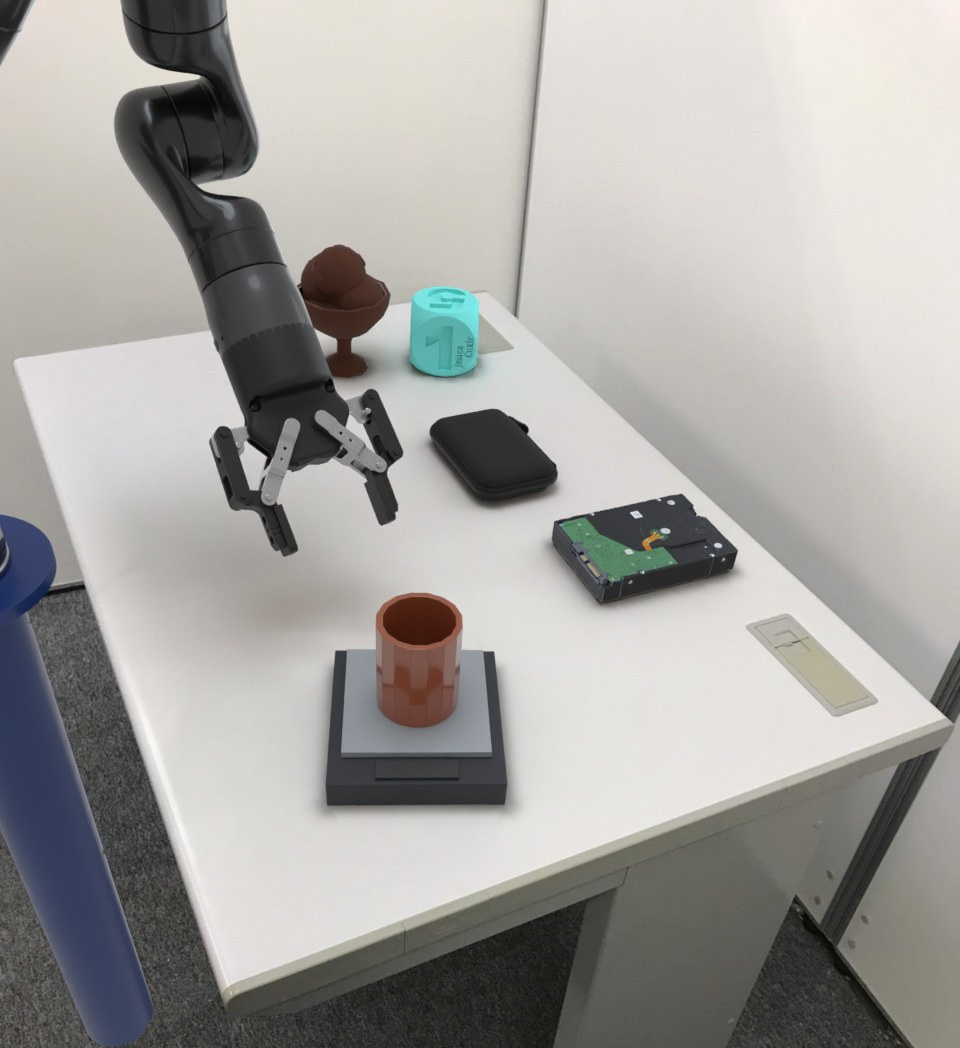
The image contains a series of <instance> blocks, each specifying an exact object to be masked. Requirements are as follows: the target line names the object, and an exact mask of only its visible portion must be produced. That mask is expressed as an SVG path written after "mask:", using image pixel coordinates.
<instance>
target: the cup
mask: <svg viewBox="0 0 960 1048" xmlns="http://www.w3.org/2000/svg"><path fill="white" fill-rule="evenodd" d="M463 631H464V623H463V614H462V612H460V610H459V608H458V607H457V606H456V604H454V603H453V602H451V601H450V600H449V599H446V598H445V597H443V596H440V595H437V594H433V593H429V592H408V593H403V594H400V595H396V596H394V597H392V598H390V599H389V600H387V601H386V602H384V603H383V604H382V605H381V607H380V608H379V609H378V611H377V613H376V614H375V649H376V696H377V703H378V706H379V709H380V710H381V712H382V713H383V714H384V715H385V716H386V717H387V718H388V719H390V720H391V721H393V722H395V723H397V724H400V725H403V726H407V727H416V728H419V727H428V726H432V725H435V724H438V723H440V722H442V721H444V720H445V719H447V718H448V717H449V716H450V715H451V714H452V713H453V711H454V710H455V708H456V705H457V699H458V692H459V677H460V662H461V650H462V648H463V647H462V645H463V633H464V632H463Z"/></svg>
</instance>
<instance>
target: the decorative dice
mask: <svg viewBox="0 0 960 1048" xmlns="http://www.w3.org/2000/svg"><path fill="white" fill-rule="evenodd" d="M410 303H411V304H410V327H409V329H410V330H409V331H410V332H409V362H410V364H411V365H412V366H413V367H415V369H417V370H418V371H420V372H422V373H424V374H427V375H431V376H434V377H446V378H447V377H456V376H460V375H464V374H467V373H468V372H469V371H471V370H472V369H474V367H476V365H477V360H478V359H477V358H478V346H479V326H480V325H479V324H480V300H479V299H478V298H477V297H476V296H475V294H473V293H472V292H470V291H468V290H466V289H463V288H459V287H454V286H444V285H443V286H442V285H439V286H430V287H425V288H422V289H420V290H418V291H417V292H416V293H414V294H413V295H412V296H411V302H410Z"/></svg>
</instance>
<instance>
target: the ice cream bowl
mask: <svg viewBox="0 0 960 1048" xmlns="http://www.w3.org/2000/svg"><path fill="white" fill-rule="evenodd" d="M366 267H367V265H366V261H365V259H364V258H363V257H362V255H361V254H360V253H358V252H356V251H355V250H354V249H353V248H351V247H349V246H346V245H344V244H334V245H332V246H328V247H325V248H324V249H323V250H322V251H321V252H319V253H318V254H316V255H314V256H313V257H312V258H311V259H309V260H308V261H307V262H306V264H305V266H304V267H303V269H302V272H301V275H300V282H299V283H298V284H296V286H297V287H298V289H299V291H300V293H301V295H302V298H303V300H304V303H305V305H306V308H307V311H308V314H309V316H310V319H311V322H312V324H313V327H314V329H315V331H318V332H320V333H322V334H323V335H326V336H328V337H330V338H332V339H335V340H336V352H333V353H331V354H329V355H327V356H326V357H325V359H326V362H327V364H328V367H329V369H330V372H331V375H332V377H334V378H335V377H336V378H355V377H357V376H360V375H363V374H364V373H365V372H366V371H367V370H368V365H367V362H366V360H365V357H363V356H361V355H359V354H356V353H354V352H353V351H352V341H353V339H354V338H358V337H361V336H364V335H365V334H367V333H368V332H369V331H370V330H372V329H373V327H374V326H376V324H377V323H379V321H380V320H382V319H383V318H384V316H385V314H386V313H387V310H388V308H389V305H390V301H391V293H390V291H389V288H388V287H387V285H386V283H385V282H384V281H382V280H379V279H377V278H375V277H373V276H372V275H370V274H368V273H367V270H366Z"/></svg>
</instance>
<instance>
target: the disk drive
mask: <svg viewBox="0 0 960 1048" xmlns="http://www.w3.org/2000/svg"><path fill="white" fill-rule="evenodd" d="M694 505H695V504H693V503H692V502H691V501H690V500H689V499H688V498H687V496H686V495H684V494H683V493H677V494H671V495H670V494H669V495H665V496H661V497H659V498H652V499H648V500H645V501H639V502H634V503H630V504H625V505H621V506H617V507H611V508H607V509H606V508H605V509H602V510H597V511H593V512H588V513H584V514H577V515H573V516H570V517H565V518H561V519H560V518H559V519H556V520H554V521H553V525H552V532H551V542H552V543H553V544H554V546H555V547H556V548H557V551H558V552H559V553H560V554H561V556H562V557H563V558H564V559H565V560H566V562H567V563H568V564H569V566H570V567H571V568H572V569H573V571H574V572H575V573H576V574H577V576H578V577H579V578H580V580H581V581H582V582H583V584H584V585H585V586H586V587H587V588H588V590H589V592H591V593H592V595H593V596H594V597H595V598H596V599H597V600H598V601H599V602H600V603H603V602H611V601H616V600H619V599H623V598H627V597H631V596H636V595H641V594H643V593H644V594H645V593H647V592H652V591H655V590H659V589H663V588H667V587H671V586H675V585H679V584H683V583H686V582H692V581H695V580H700V579H702V578H707V577H710V576H714V575H718V574H722V573H724V572H727V571H732V570H733V569H734V565H735V563H736V559H737V556H738V553H739V550H738V548H737V547H736V546H735V545H734V544H733V543H732V542H731V541H730V540H729V539H728V538H726V536H725V535H723V533H722V532H721V531H720V530H719V529H718V528H717V527H716V526H715V525H714V524H713V523H712V522H711V521H710V520H709V518H707V517H706V516H701V515H698V513H697V511H696V510H695V508H694Z"/></svg>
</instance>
